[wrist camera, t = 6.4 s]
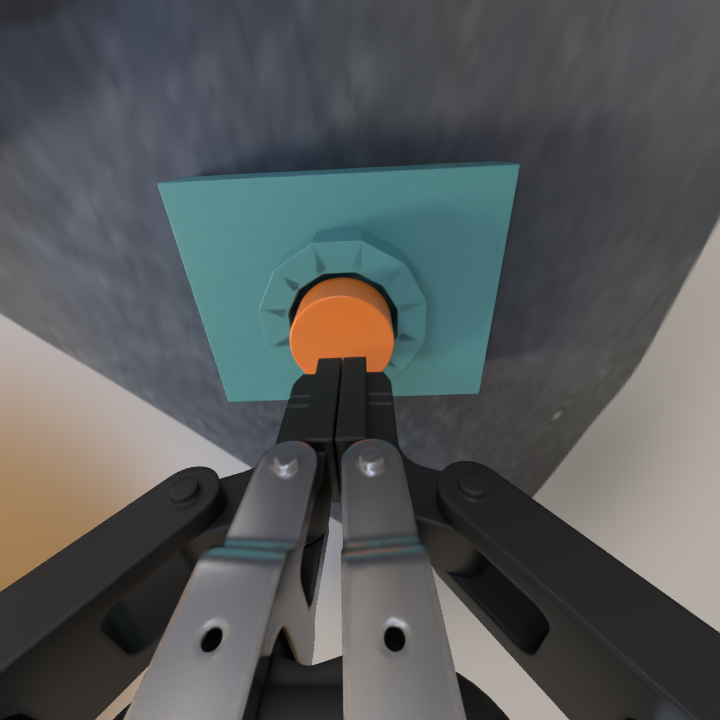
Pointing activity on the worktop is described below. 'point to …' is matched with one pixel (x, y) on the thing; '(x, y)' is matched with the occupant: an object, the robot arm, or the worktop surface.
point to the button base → (346, 264)
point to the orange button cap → (342, 325)
